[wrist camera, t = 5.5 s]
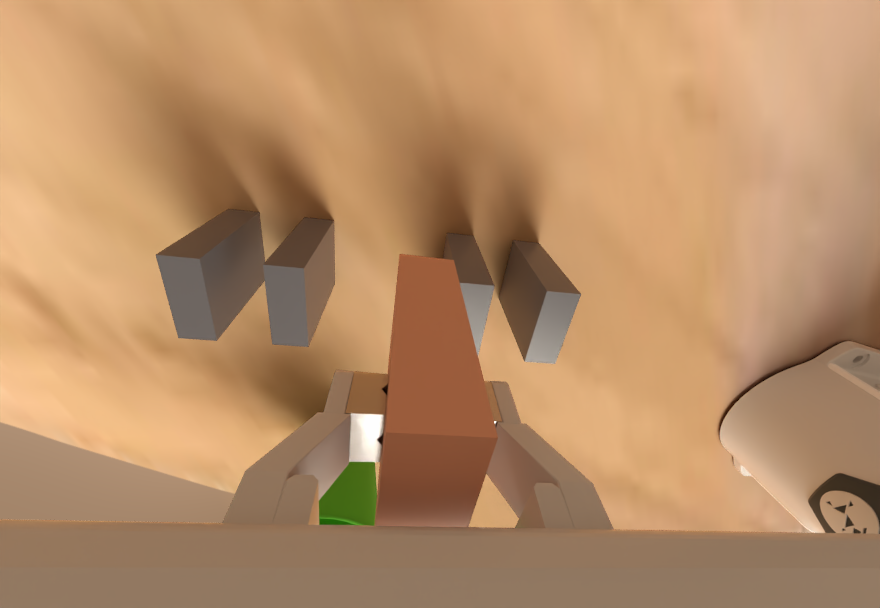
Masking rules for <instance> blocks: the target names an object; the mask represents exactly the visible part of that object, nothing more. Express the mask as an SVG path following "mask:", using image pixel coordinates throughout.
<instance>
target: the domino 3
mask: <svg viewBox="0 0 880 608" xmlns="http://www.w3.org/2000/svg"><path fill="white" fill-rule="evenodd" d="M388 374H389V378H388V389H387V401H386V412H385V423H384V433H383V442H382V451H381V460H380V468H379V479H378V490H377V502H376V513H375V525H374V526H425V527H468V526H469V523H470V520H471V517H472V514H473V511H474V508H475V505H476V502H477V499H478V496H479V493H480V490H481V487H482V484H483V481H484V478H485V475H486V472H487V469H488V466H489V463H490V460H491V457H492V454H493V452H494V449H495V446H496V443H497V440H498V435H497V431H496V427H495V423H494V419H493V415H492V411H491V407H490V403H489V399H488V395H487V391H486V387H485V383H484V379H483V375H482V371H481V367H480V363H479V359H478V355H477V351H476V347H475V343H474V339H473V335H472V331H471V327H470V323H469V319H468V315H467V311H466V307H465V303H464V299H463V295H462V291H461V287H460V283H459V279H458V275H457V271H456V267H455V263H454V260H449V259H440V258H431V257H423V256H414V255H405V254H400V256H399V266H398V276H397V285H396V295H395V305H394V315H393V325H392V335H391V344H390V354H389V364H388Z"/></svg>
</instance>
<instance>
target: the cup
mask: <svg viewBox="0 0 880 608" xmlns="http://www.w3.org/2000/svg"><path fill="white" fill-rule="evenodd" d="M376 502H377V489H376V474H375V462H349V464H348V465H347V467H346V468H345V469H344V470H343V472H342V473H341V474H340V475H339V476H338V478H337V479H336V480H335V481H334V483H333V484H332V485H331V486H330V488H329V489H328V490H327V491H326V492H325V494H324V495H323V496H322V497H321V499H320V500H319V525H368V526H374V525H375V513H376Z"/></svg>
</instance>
